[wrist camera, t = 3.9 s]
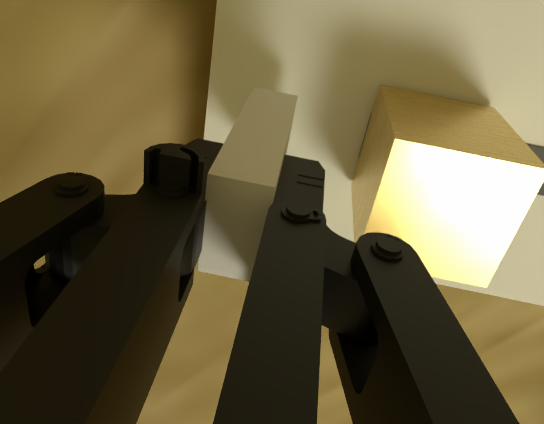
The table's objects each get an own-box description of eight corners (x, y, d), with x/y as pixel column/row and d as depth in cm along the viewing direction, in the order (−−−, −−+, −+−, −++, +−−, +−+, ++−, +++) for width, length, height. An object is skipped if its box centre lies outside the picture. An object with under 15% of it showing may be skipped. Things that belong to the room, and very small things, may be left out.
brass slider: (351, 184, 18) (355, 260, 14) (380, 84, 16) (395, 138, 12) (451, 204, 18) (486, 287, 14) (494, 107, 16) (549, 170, 12)
